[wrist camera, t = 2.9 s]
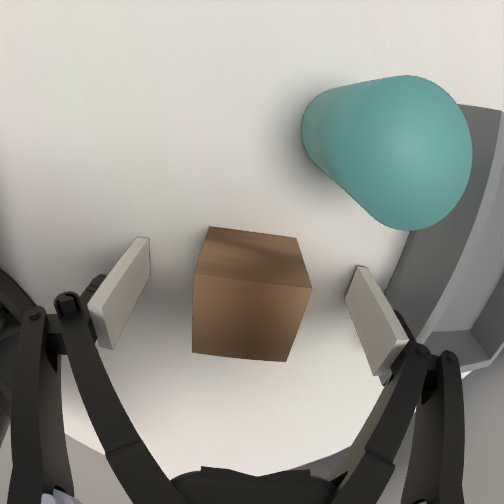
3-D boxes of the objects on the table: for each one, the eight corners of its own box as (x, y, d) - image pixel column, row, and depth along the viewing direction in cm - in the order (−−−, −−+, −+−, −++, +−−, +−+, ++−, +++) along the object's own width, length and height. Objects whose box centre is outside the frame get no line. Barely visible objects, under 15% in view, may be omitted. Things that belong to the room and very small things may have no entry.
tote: (363, 336, 20) (382, 385, 16) (444, 102, 11) (501, 111, 7) (467, 332, 21) (489, 365, 17) (537, 171, 12) (575, 191, 8)
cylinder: (293, 167, 14) (327, 216, 8) (309, 77, 11) (361, 50, 5) (376, 185, 14) (447, 241, 8) (395, 104, 12) (482, 113, 6)
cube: (204, 295, 18) (192, 352, 14) (209, 225, 16) (193, 273, 11) (278, 304, 18) (285, 361, 14) (295, 237, 16) (312, 288, 12)
